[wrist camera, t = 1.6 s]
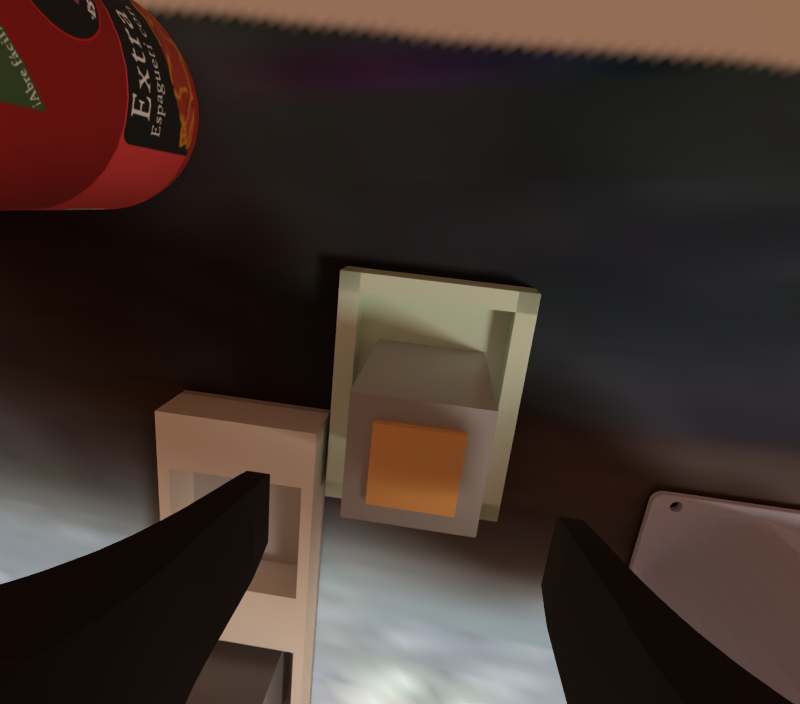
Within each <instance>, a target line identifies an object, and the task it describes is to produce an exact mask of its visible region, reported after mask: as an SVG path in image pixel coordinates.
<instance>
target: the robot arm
mask: <svg viewBox="0 0 800 704" xmlns="http://www.w3.org/2000/svg"><path fill="white" fill-rule="evenodd" d="M269 498H270V474H266V473H259V472H253V471H245V472H244V473H242V474H240V475H238V476H236V477H235V478H233V479H231V480H230V481H228V482H226V483H225V484H223V485H222V486H220V487H218V488H217V489H215V490H213V491H212V492H210V493H208V494H207V495H205V496H203V497H202V498H200V499H198V500H197V501H195V502H193V503H192V504H190V505H188V506H187V507H185V508H183V509H181V510H179V511H178V512H176V513H174V514H172V515H170V516H168V517H166V518H165V519H163V520H161V521H159V522H157V523H155V524H153V525H152V526H150V527H148V528H146V529H144V530H142V531H140V532H138V533H136V534H134V535H132V536H130V537H127V538H125V539H123V540H121V541H119V542H116V543H114V544H112V545H110V546H107V547H105V548H103V549H100V550H98V551H96V552H93V553H91V554H88V555H85V556H83V557H80V558H77V559H75V560H72V561H69V562H66V563H64V564H61V565H58V566H56V567H53V568H50V569H48V570H45V571H42V572H39V573H36V574H33V575H30V576H27V577H23V578H20V579H17V580H14V581H11V582H7V583H4V584H0V704H186V702H187V699H188V697H189V695H190V693H191V691H192V688H193V686H194V684H195V682H196V680H197V678H198V676H199V674H200V672H201V671H202V669H203V667H204V665H205V663H206V661H207V659H208V658H209V656H210V654H211V652H212V651H213V649H214V647H215V645H216V644H217V642H218V640H219V638H220V637H221V635H222V633H223V631H224V630H225V628H226V626H227V624H228V623H229V621H230V619H231V617H232V616H233V614H234V612H235V610H236V609H237V607H238V605H239V603H240V601H241V600H242V598H243V596H244V594H245V592H246V591H247V589H248V587H249V585H250V583H251V582H252V580H253V578H254V575H255V573H256V571H257V568H258V566H259V564H260V561H261V559H262V556H263V554H264V551H265V549H266V546H267V544H268V534H269ZM674 502H678V504H677V505H676V506H674V507H670V505H671V504H672V503H674ZM541 586H542V594H543V602H544V609H545V616H546V623H547V628H548V632H549V636H550V640H551V644H552V648H553V652H554V656H555V660H556V664H557V667H558V671H559V675H560V678H561V682H562V686H563V690H564V693H565V697H566V701H567V704H800V510H794V509H787V508H780V507H773V506H766V505H759V504H752V503H745V502H738V501H731V500H724V499H717V498H710V497H703V496H696V495H689V494H682V493H675V492H668V491H658V492H655V493H654V494H652V495H651V497H650V499H649V501H648V505H647V508H646V511H645V515H644V518H643V521H642V525H641V528H640V531H639V535H638V538H637V541H636V545H635V548H634V551H633V555H632V558H631V561H630V565H629V567H628V566H627V565H626V564H625V563H624V562H623V561H622V560H621V559H620V558H619V557H618V556H617V555H616V554H615V553H614V552H613V551H612V550H611V549H610V548H609V546H608V545H607V544H606V543H605V542H604V541H603V540H602V539H601V538H600V537H599V536H598V535H597V534H596V533H595V532H594V531H593V530H592V529H591V528H590V527H589V526H588V525H587V524H586V523H585V522H584V521H583V520H577V519H570V518H563V517H557V521H556V525H555V529H554V534H553V538H552V542H551V546H550V550H549V555H548V559H547V563H546V567H545V572H544V576H543V580H542V584H541Z"/></svg>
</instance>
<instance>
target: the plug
mask: <svg viewBox="0 0 800 704" xmlns="http://www.w3.org/2000/svg"><path fill="white" fill-rule="evenodd" d="M498 412H499V411H498V407H497V403H496V399H495V394H494V390H493V386H492V382H491V378H490V374H489V369H488V365H487V361H486V357H485V353H484V352H477V351H469V350H461V349H453V348H445V347H438V346H430V345H422V344H414V343H406V342H399V341H391V340H383V339H378V341H377V343H376V345H375V346H374V348H373V350H372V352H371V354H370V356H369V358H368V359H367V361H366V363H365V365H364V367H363V369H362V370H361V372H360V374H359V376H358V378H357V380H356V381H355V383H354V385H353V387H352V389H351V391H350V399H349V411H348V424H347V436H346V449H345V462H344V474H343V487H342V499H341V512H340V517H344V518H350V519H357V520H363V521H370V522H376V523H383V524H389V525H396V526H402V527H409V528H415V529H422V530H428V531H435V532H442V533H448V534H455V535H461V536H468V537H474V538H476V534H477V528H478V523H479V517H480V512H481V506H482V501H483V495H484V490H485V484H486V479H487V473H488V467H489V462H490V456H491V451H492V445H493V440H494V434H495V429H496V423H497V418H498Z"/></svg>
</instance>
